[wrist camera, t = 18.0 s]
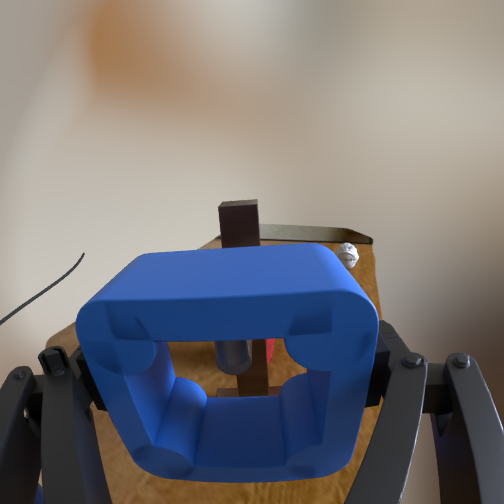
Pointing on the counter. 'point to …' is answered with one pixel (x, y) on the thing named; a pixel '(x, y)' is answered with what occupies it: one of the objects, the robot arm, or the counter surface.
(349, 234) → the counter surface
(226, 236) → the hook stand
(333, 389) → the blue rounded square frame
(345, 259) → the white lumpy ball
